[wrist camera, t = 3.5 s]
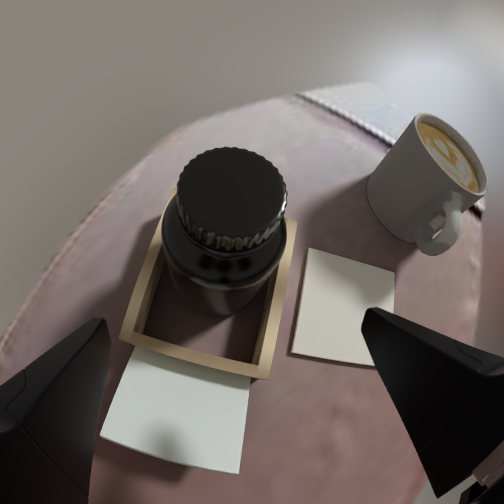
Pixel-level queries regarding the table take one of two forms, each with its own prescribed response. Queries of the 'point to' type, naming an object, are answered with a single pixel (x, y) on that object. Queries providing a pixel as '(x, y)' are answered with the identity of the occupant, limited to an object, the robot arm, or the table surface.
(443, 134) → the coffee mug
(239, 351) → the table surface
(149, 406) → the frame lid
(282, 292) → the frame
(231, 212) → the supplement bottle
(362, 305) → the felt mat
